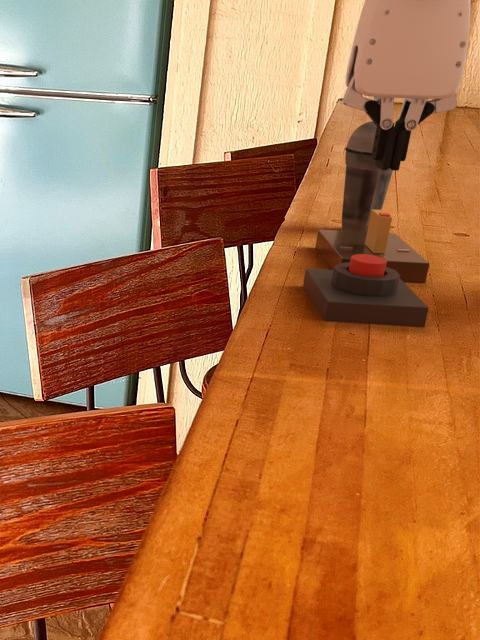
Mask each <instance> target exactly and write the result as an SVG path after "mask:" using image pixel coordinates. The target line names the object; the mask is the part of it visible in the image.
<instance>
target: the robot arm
mask: <svg viewBox="0 0 480 640" xmlns="http://www.w3.org/2000/svg"><path fill="white" fill-rule="evenodd" d="M471 2H472V0H364V2H363V6H362V8H361V11H360V15H359V19H358V23H357V25H356V29H355V33H354V38H353V42H352V45H351V49H350V54H349V58H348V63H347V67H346V73H345V74H346V75H345V86H346V90H345V92H344V95H343V97H342V104H343V105H345V106H347V107H349V108H353V109H356V110H360V111H363V112H364V113H366V115H367V116H368V117H369V118H370V121H373V123H374V124H375V125H376V126H377V128H376V133H375V138H374V144H373V149H372V159H373V160H375V166H377V167H378V168H380V169H381V170H388V169H391V170H393V171H399V170H400V167H401V163H402V162H405V161H406V159H407V156H408V155H407V154H408V150H409V145H410V139H411V135H412V131H415V130H416V129H417V127H418V125H419V124H421V123H422V122H423V121H425V120H426V119H427V118H428V117H430V116H431V115H433V114H440V113H445V112H449V111H453V110H455V109H456V108H457V105H458V103H457V101H458V99H457V93H458V92H459V90H460V87H461V84H462V81H463V78H464V72H465V67H466V63H467V62H466V61H467V55H468V46H469V41H470V30H471V29H470V28H471V12H472V11H471V8H472V3H471ZM364 96H365V97H364ZM367 97H368V98H367ZM369 97H373V99H372V98H369ZM395 99H404V100H403V103H402V105H401V109H400V111H399V114H398V117H397V120H395V123H394V112H395V111H394V109H395Z"/></svg>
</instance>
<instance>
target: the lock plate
mask: <svg viewBox="0 0 480 640" xmlns="http://www.w3.org/2000/svg"><path fill="white" fill-rule="evenodd" d="M316 233H317V234H316V241H315V245H314V248H315V249H316V251H317V252H318V253H319V254H320V255H321V257H322V258H323V260H325V262H326V263H327V265H328V266H329V267H330V269H331V270H333V269H334V267H335V266H336V265H338V264H339V263H347V262H350V260H351V256H353V255H357V254H367V255H374V256H379V257H382V258H384V259H386V260H387V263H386V267H387V268H390V269H393V270H395V271H396V272H397V273H398V274H399V275H400V279H401V280H402V281H403V282H404V283H414V284H415V283H417V284H426V282H427V277H428V272H429V269H430V264H431V263H430V262H429V261H428V260H426V259H425V258H424V257H423V256H422V255H421V254H419V252H418V251H416V249H414V248H413V247H412V246H410V245H409V244H408V242H406V241H404V239H402V238H401V237H400V236H399V235H398V234H396V233H395V232H393V233H392V232H389V236H388V241H387V246H386V252H385V254H381V253H373V252H372V251H371V250H370V249H369V248H368V247H367V246H366V245H365V242H366V237H367V232H356V231H341V230H335V229H334V230H333V229H317V232H316Z"/></svg>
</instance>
